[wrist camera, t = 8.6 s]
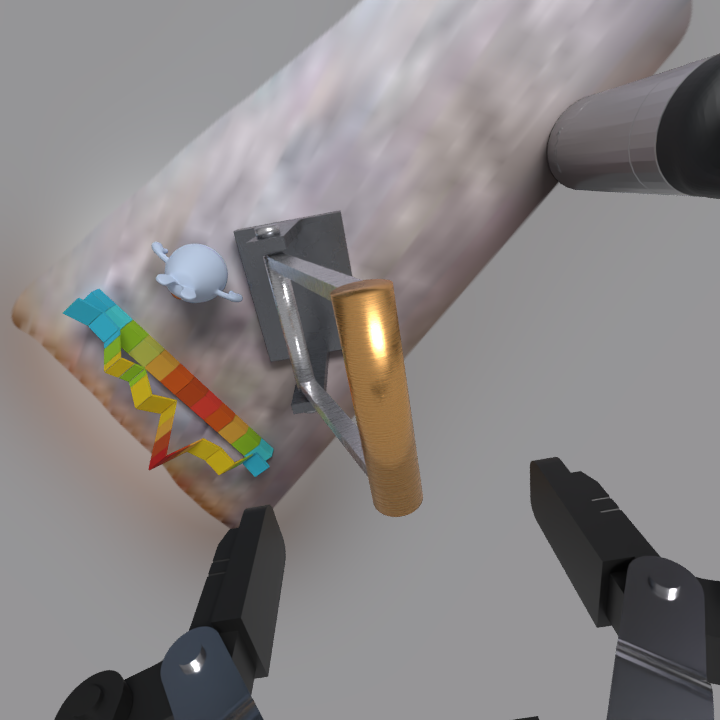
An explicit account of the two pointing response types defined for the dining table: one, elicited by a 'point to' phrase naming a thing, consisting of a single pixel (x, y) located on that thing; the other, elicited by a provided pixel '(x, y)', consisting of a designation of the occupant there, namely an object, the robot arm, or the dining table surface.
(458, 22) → the dining table surface
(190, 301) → the toy figure
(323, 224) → the lever stand
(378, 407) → the lever
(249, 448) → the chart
